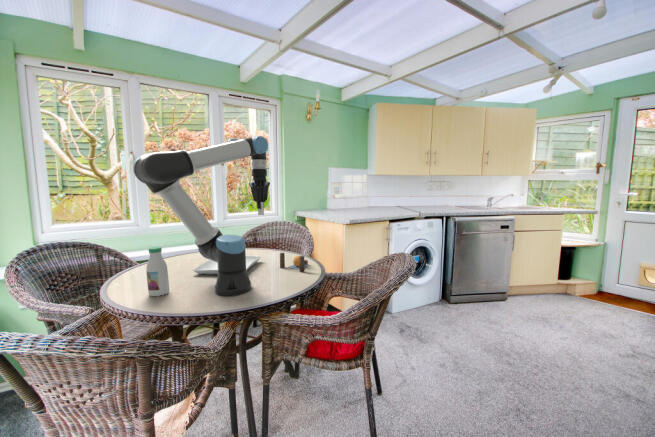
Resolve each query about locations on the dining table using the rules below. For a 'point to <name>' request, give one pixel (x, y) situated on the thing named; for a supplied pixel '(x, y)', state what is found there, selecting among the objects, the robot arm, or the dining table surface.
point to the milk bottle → (157, 273)
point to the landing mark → (296, 267)
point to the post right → (301, 264)
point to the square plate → (212, 266)
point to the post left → (282, 260)
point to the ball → (296, 261)
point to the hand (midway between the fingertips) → (261, 214)
